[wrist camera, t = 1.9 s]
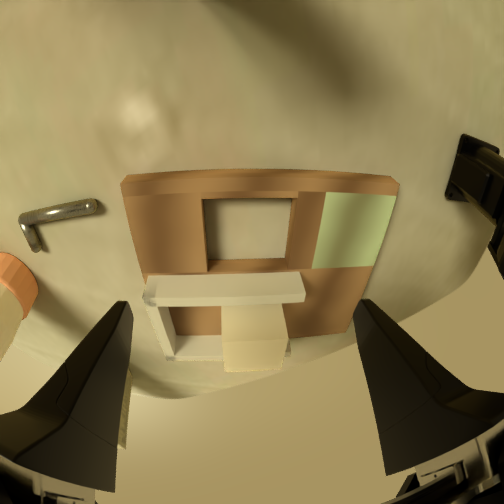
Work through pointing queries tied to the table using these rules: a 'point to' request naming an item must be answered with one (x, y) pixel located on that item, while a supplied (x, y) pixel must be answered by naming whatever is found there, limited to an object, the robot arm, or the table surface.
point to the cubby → (212, 294)
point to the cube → (253, 337)
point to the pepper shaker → (14, 297)
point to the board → (298, 241)
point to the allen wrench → (52, 218)
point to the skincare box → (125, 412)
